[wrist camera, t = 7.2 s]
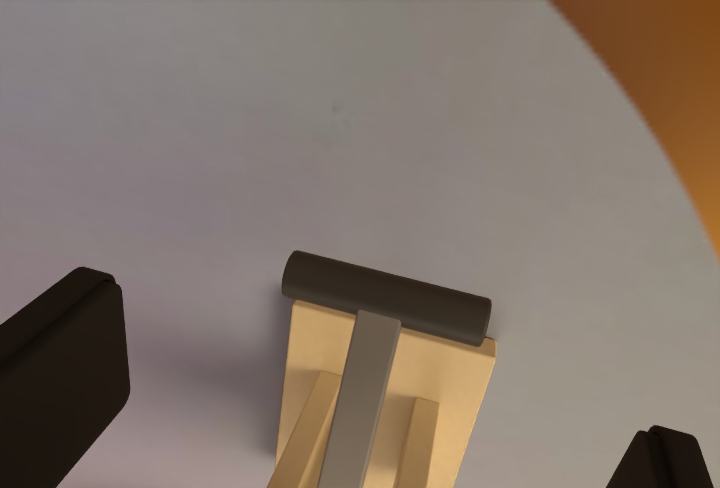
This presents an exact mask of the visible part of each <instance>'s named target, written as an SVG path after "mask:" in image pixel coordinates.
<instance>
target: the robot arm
mask: <svg viewBox="0 0 720 488" xmlns="http://www.w3.org/2000/svg"><path fill="white" fill-rule="evenodd" d="M129 394H130V378H129V367H128V356H127V344H126V333H125V321H124V310H123V298H122V290H121V287H120V286H119V285H118V284H116V282H115V278H114V277H113V276H112V275H111V274H108V273H104V272H101V271H97V270H94V269H90V268H86V267H78V268H76V269H75V270H73V271H72V272H70V273H69V274H68V275H66V276H65V277H64V278H62V279H61V280H60V281H58V282H57V283H56V284H54V285H53V286H52V287H50V288H49V289H48V290H46V291H45V292H44V293H42V294H41V295H40V296H38V297H37V298H36V299H34V300H33V301H32V302H30V303H29V304H28V305H26V306H25V307H24V308H22V309H21V310H20V311H18V312H17V313H16V314H14V315H13V316H12V317H10V318H9V319H8V320H6V321H5V322H4V323H2V324H1V325H0V488H56V487H57V486H58V484H59V483H60V482H61V481H62V480H63V479H64V477H65V476H66V475H67V474H68V473H69V471H70V470H71V469H72V468H73V467H74V465H75V464H76V463H77V462H78V461H79V460H80V458H81V457H82V456H83V455H84V454H85V452H86V451H87V450H88V449H89V448H90V446H91V445H92V444H93V443H94V442H95V441H96V439H97V438H98V437H99V436H100V435H101V433H102V432H103V431H104V430H105V429H106V427H107V426H108V425H109V424H110V423H111V422H112V420H113V419H114V418H115V417H116V416H117V414H118V413H119V412H120V411H121V410H122V408H123V407H124V406H125V404H126V402H127V400H128V397H129ZM606 488H714V487H713V484H712V482H711V479H710V476H709V473H708V470H707V467H706V464H705V461H704V458H703V455H702V452H701V450H700V447H699V444H698V442H697V440H696V438H695V437H694V436H693V435H690V434H687V433H683V432H679V431H676V430H672V429H669V428H665V427H661V426H658V425H654V426H652V427H651V428H650V429H649V431H648V432H646V431H641V430H640V431H638V432H637V433H636V435H635V436H634V438H633V440H632V442H631V444H630V445H629V447H628V449H627V451H626V453H625V454H624V456H623V458H622V460H621V462H620V463H619V465H618V467H617V469H616V470H615V472H614V474H613V476H612V478H611V479H610V481H609V483H608V485H607V487H606Z"/></svg>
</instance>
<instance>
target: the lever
mask: <svg viewBox="0 0 720 488" xmlns="http://www.w3.org/2000/svg"><path fill="white" fill-rule="evenodd" d="M282 294H283V295H284V296H285V297H289V298H293V299H296V300H300V301H304V302H308V303H312V304H315V305H319V306H323V307H327V308H331V309H334V310H338V311H342V312H346V313H349V314H353V315H356V318H355V323H354V327H353V331H352V336H351V340H350V344H349V349H348V353H347V358H346V362H345V366H344V371H343V375H342V379H341V384H340V388H339V392H338V397H337V401H336V405H335V410H334V414H333V419H332V423H331V427H330V432H329V436H328V440H327V445H326V449H325V453H324V458H323V462H322V466H321V471H320V475H319V480H318V484H317V488H363V485H364V481H365V477H366V473H367V468H368V464H369V460H370V456H371V452H372V448H373V444H374V439H375V435H376V431H377V427H378V423H379V419H380V415H381V410H382V406H383V402H384V398H385V394H386V390H387V386H388V381H389V377H390V373H391V369H392V365H393V361H394V357H395V353H396V348H397V344H398V340H399V336H400V332H401V328H406V329H410V330H414V331H418V332H421V333H425V334H429V335H433V336H437V337H440V338H444V339H448V340H452V341H455V342H459V343H463V344H467V345H471V346H474V347H480V346H481V345H482V343H483V341H484V338H485V335H486V331H487V327H488V323H489V319H490V314H491V305H492V304H491V300H490V299H489V298H485V297H481V296H477V295H473V294H469V293H465V292H461V291H457V290H453V289H449V288H445V287H441V286H437V285H433V284H429V283H425V282H421V281H418V280H414V279H410V278H406V277H402V276H398V275H394V274H390V273H386V272H382V271H378V270H374V269H370V268H366V267H362V266H358V265H354V264H350V263H346V262H342V261H338V260H334V259H330V258H326V257H322V256H318V255H314V254H310V253H306V252H302V251H298V250H297V251H294V252H293V253H292V254H291V256H290V257H289V259H288V261H287V264H286V267H285V270H284V273H283V278H282Z"/></svg>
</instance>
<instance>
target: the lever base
mask: <svg viewBox="0 0 720 488" xmlns="http://www.w3.org/2000/svg"><path fill="white" fill-rule="evenodd" d="M355 318H356V315H353V314H349V313H346V312H342V311H338V310H334V309H331V308H327V307H323V306H319V305H315V304H312V303H308V302H304V301H300V300H295V302H294V303H293V305H292V314H291V323H290V333H289V342H288V351H287V360H286V369H285V378H284V387H283V396H282V406H281V415H280V424H279V433H278V442H277V451H276V460H275V469H274V473H273V475H272V477H271V479H270V482H269V484H268V486H267V488H317V484H318V480H319V475H320V471H321V466H322V462H323V458H324V453H325V449H326V445H327V440H328V436H329V432H330V427H331V423H332V419H333V414H334V410H335V405H336V401H337V397H338V392H339V388H340V384H341V379H342V375H343V371H344V366H345V362H346V358H347V353H348V349H349V344H350V340H351V336H352V331H353V327H354V323H355ZM496 348H497V342H496V341H495V340H492V339H489V338H484V341H483V343H482V345H481V346H480V347H474V346H471V345H467V344H463V343H459V342H455V341H452V340H448V339H444V338H440V337H437V336H433V335H429V334H425V333H421V332H418V331H414V330H410V329H406V328H401V332H400V336H399V340H398V344H397V348H396V353H395V357H394V361H393V365H392V369H391V373H390V377H389V381H388V386H387V390H386V394H385V398H384V402H383V406H382V410H381V415H380V419H379V423H378V427H377V431H376V435H375V439H374V444H373V448H372V452H371V456H370V460H369V464H368V468H367V473H366V477H365V481H364V485H363V488H453V485H454V482H455V479H456V476H457V473H458V470H459V468H460V465H461V462H462V459H463V456H464V453H465V450H466V447H467V444H468V441H469V438H470V435H471V432H472V429H473V426H474V423H475V420H476V417H477V414H478V411H479V408H480V405H481V402H482V399H483V396H484V393H485V391H486V388H487V385H488V382H489V379H490V376H491V373H492V370H493V367H494V364H495V361H496Z"/></svg>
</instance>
